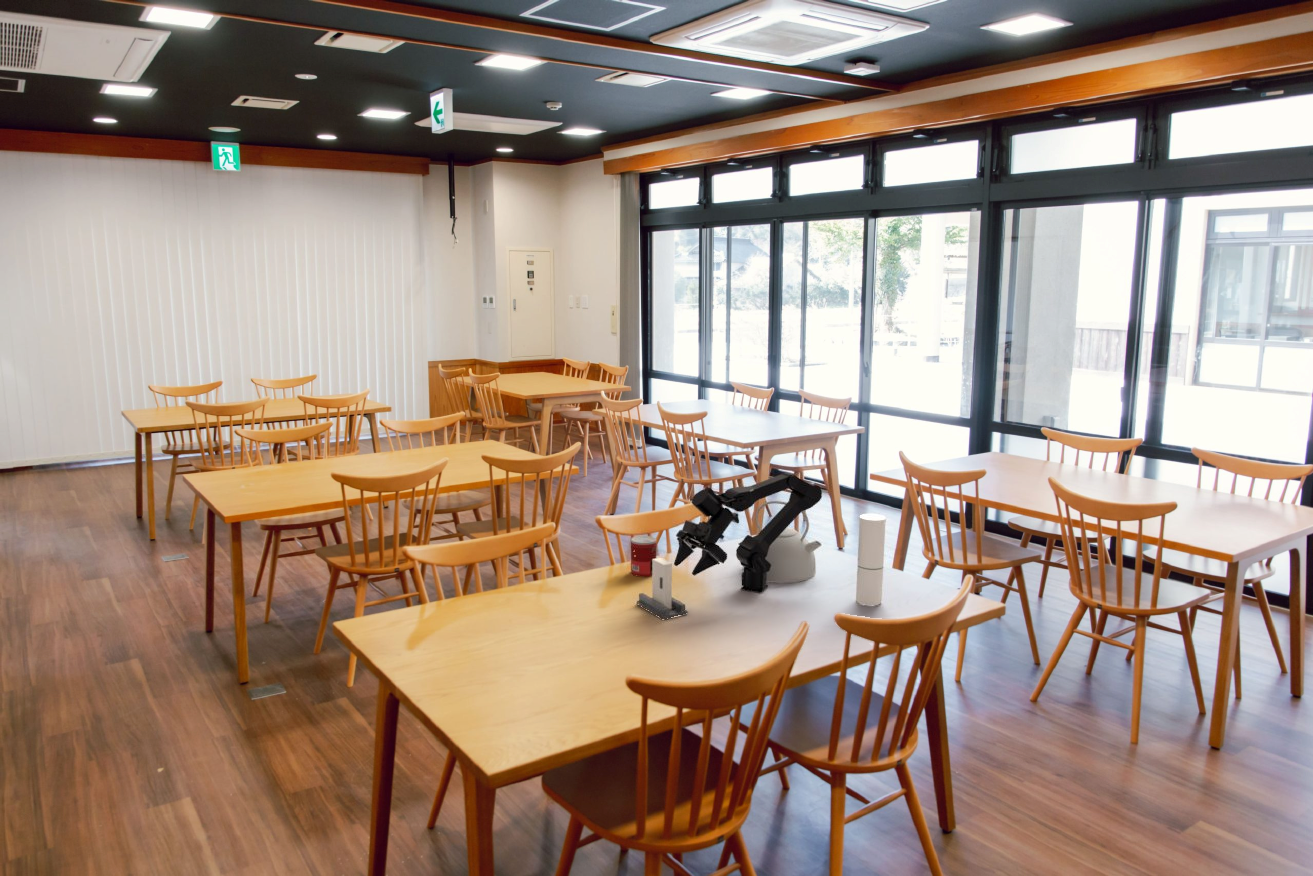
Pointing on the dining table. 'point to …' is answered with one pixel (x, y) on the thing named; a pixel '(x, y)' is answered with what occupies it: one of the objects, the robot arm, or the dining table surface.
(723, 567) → the dining table surface
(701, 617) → the dining table surface
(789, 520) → the robot arm
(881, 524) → the cylindrical container
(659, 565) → the door panel
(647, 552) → the canned food
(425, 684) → the dining table surface
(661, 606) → the bottom track
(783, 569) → the kettle
